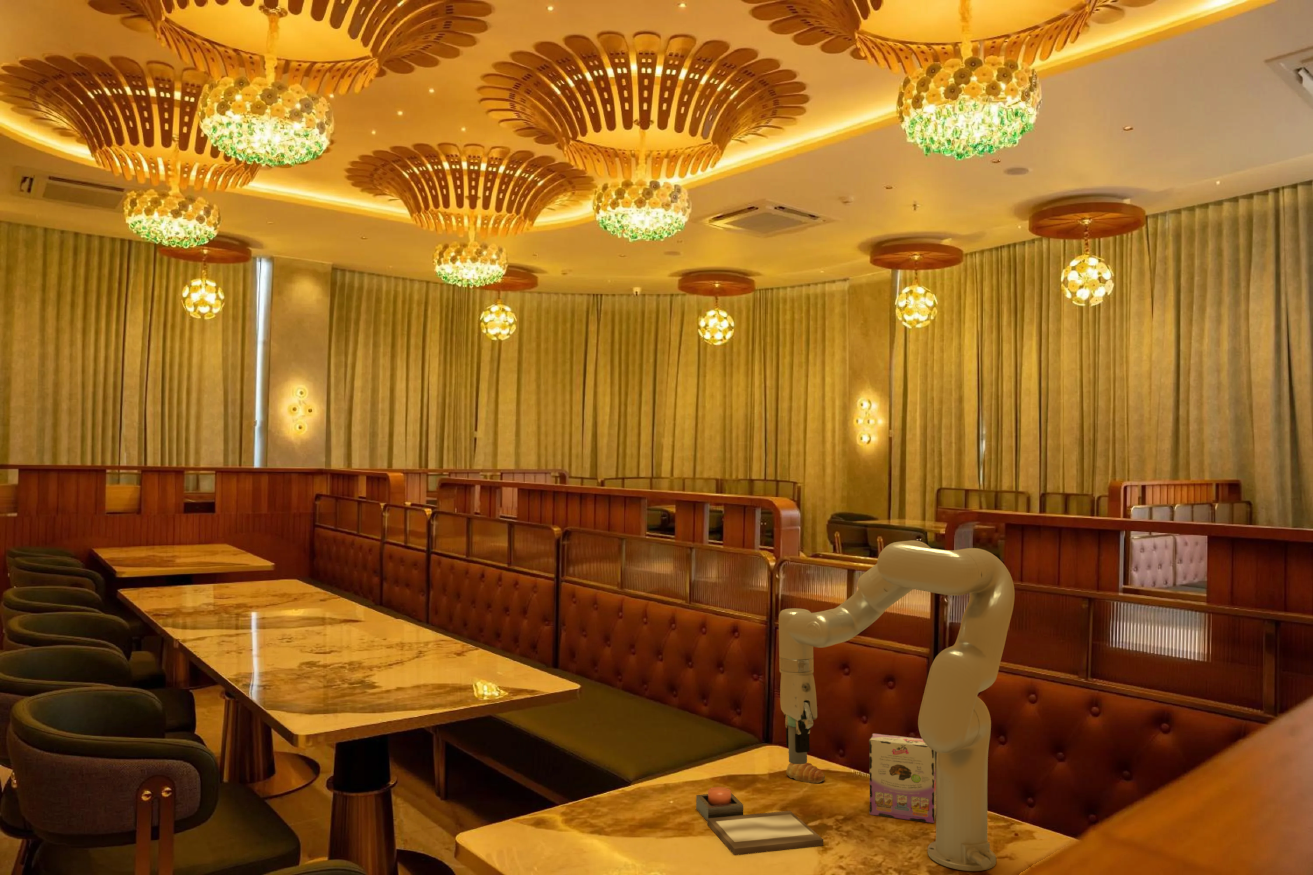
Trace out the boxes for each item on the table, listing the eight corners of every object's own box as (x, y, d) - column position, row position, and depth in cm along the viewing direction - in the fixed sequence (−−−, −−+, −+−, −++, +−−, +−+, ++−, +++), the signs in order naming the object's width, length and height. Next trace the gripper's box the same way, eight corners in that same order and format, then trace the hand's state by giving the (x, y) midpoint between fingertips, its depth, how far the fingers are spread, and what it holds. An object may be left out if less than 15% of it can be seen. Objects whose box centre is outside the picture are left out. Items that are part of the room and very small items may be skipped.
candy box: (936, 814, 197) (936, 738, 198) (934, 824, 191) (934, 746, 192) (872, 805, 202) (872, 731, 203) (868, 814, 196) (868, 738, 197)
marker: (810, 763, 197) (809, 716, 198) (793, 764, 196) (792, 718, 196) (802, 757, 201) (801, 712, 202) (785, 759, 200) (784, 713, 200)
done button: (734, 805, 194) (734, 793, 194) (712, 807, 193) (712, 795, 193) (726, 797, 199) (726, 786, 199) (704, 798, 198) (705, 787, 198)
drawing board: (823, 845, 179) (823, 838, 179) (734, 854, 174) (734, 847, 174) (790, 816, 195) (790, 809, 195) (707, 824, 190) (707, 817, 190)
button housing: (743, 818, 193) (743, 804, 193) (708, 822, 191) (708, 807, 191) (730, 805, 201) (730, 791, 201) (696, 808, 198) (696, 794, 199)
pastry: (830, 780, 219) (830, 764, 219) (815, 787, 214) (815, 771, 214) (798, 771, 226) (798, 756, 226) (783, 778, 221) (783, 762, 221)
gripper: (828, 671, 193) (830, 758, 192) (796, 657, 209) (797, 737, 208) (796, 673, 191) (798, 761, 190) (766, 659, 207) (767, 740, 206)
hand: (797, 748), depth 199 cm, fingers closed on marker, 4 cm apart
